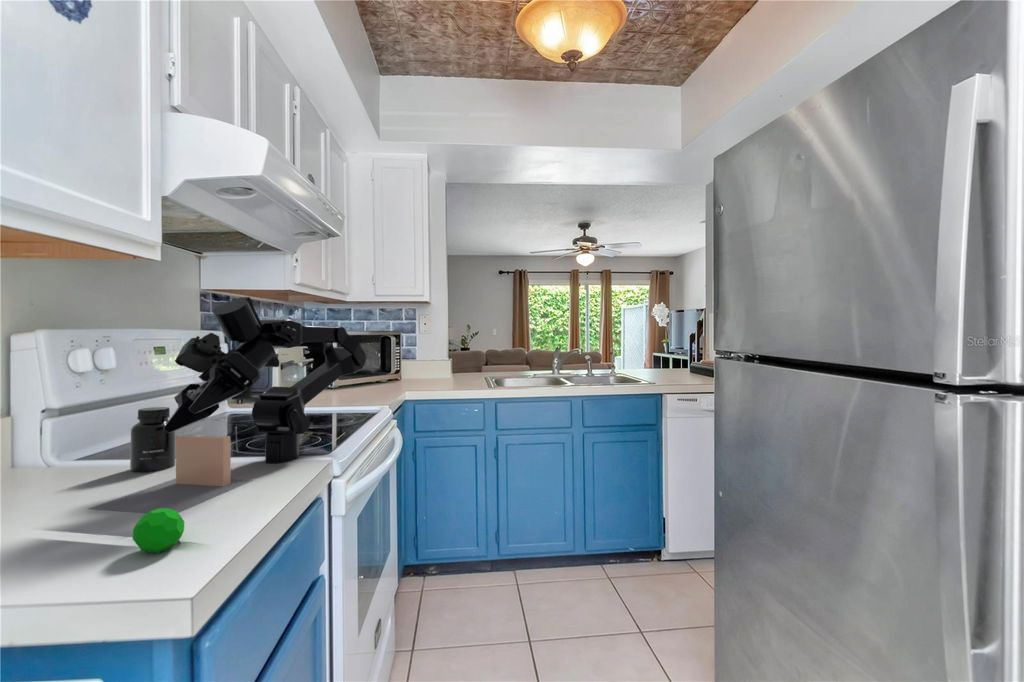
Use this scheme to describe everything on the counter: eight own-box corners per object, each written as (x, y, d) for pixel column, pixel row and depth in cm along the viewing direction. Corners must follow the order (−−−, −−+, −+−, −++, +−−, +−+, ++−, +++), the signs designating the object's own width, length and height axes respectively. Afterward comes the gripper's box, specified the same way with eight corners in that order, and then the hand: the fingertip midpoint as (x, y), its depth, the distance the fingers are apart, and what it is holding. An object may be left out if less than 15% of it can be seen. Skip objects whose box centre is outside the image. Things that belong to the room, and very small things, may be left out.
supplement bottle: (147, 478, 85) (147, 412, 85) (121, 475, 87) (120, 410, 87) (184, 468, 92) (184, 406, 92) (159, 465, 94) (158, 405, 94)
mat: (182, 480, 84) (182, 476, 84) (253, 484, 82) (253, 480, 82) (88, 514, 68) (88, 508, 68) (173, 520, 66) (173, 514, 66)
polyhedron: (146, 542, 59) (146, 504, 59) (191, 539, 60) (190, 501, 60) (124, 561, 54) (123, 520, 54) (172, 557, 55) (172, 516, 55)
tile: (183, 480, 82) (183, 434, 81) (230, 483, 80) (230, 436, 80) (176, 483, 80) (175, 436, 80) (223, 486, 79) (223, 438, 78)
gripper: (184, 351, 88) (110, 407, 76) (234, 306, 79) (158, 361, 67) (232, 392, 92) (169, 452, 79) (284, 353, 83) (223, 414, 70)
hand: (178, 421), depth 74 cm, fingers open, 9 cm apart
